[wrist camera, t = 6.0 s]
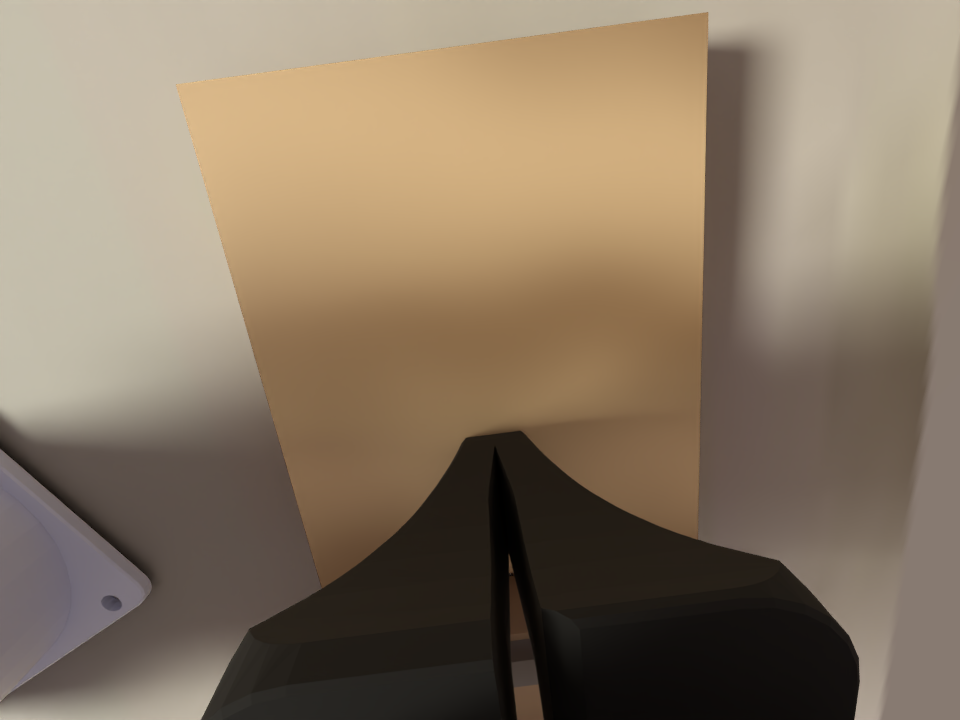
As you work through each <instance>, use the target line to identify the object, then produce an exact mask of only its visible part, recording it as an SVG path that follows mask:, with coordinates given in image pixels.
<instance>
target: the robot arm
mask: <svg viewBox="0 0 960 720" xmlns="http://www.w3.org/2000/svg"><path fill="white" fill-rule="evenodd" d="M509 556H510V560H511V564H512V568H513V573H514V577H515V581H516V585H517V589H518V593H519V597H520V601H521V605H522V609H523V614H524V618H525V622H526V626H527V630H528V634H529V638H530V642H531V646H532V651H533V656H534V661H535V666H536V672H537V679H538V685H539V692H540V699H541V705H542V712H543V718H544V720H854V718H855V711H856V704H857V697H858V690H859V683H860V679H859V657H858V655H857V653H856V651H855V648H854V646H853V644H852V641H851V639H850V637H849V635H848V634H847V633H846V632H845V631H844V629H843V628H842V627H841V626H840V625H839V624H838V623H837V622H836V620H835V619H834V618H833V617H832V616H831V615H830V614H829V612H828V611H827V610H826V609H825V608H824V606H823V605H822V604H821V603H820V602H819V601H818V600H817V598H816V597H815V596H814V595H813V594H812V593H811V592H810V591H809V590H808V588H807V587H806V586H805V585H803V584H802V583H801V582H800V581H799V580H798V579H797V578H796V577H795V576H794V575H793V574H792V573H791V572H790V571H789V570H788V569H787V568H786V567H785V566H784V565H783V564H782V563H781V562H780V561H778V560H774V559H770V558H766V557H762V556H757V555H753V554H749V553H745V552H741V551H737V550H733V549H728V548H724V547H720V546H716V545H713V544H709V543H706V542H703V541H700V540H697V539H694V538H691V537H688V536H685V535H682V534H679V533H676V532H673V531H671V530H668V529H665V528H663V527H660V526H658V525H655V524H653V523H651V522H648V521H646V520H644V519H642V518H639V517H637V516H635V515H633V514H630V513H628V512H626V511H624V510H622V509H620V508H618V507H616V506H615V505H613V504H611V503H609V502H608V501H606V500H604V499H602V498H601V497H599V496H597V495H596V494H594V493H592V492H591V491H589V490H588V489H586V488H585V487H583V486H582V485H580V484H579V483H578V482H576V481H575V480H573V479H572V478H571V477H570V476H568V475H567V474H566V473H565V472H563V471H562V470H561V469H560V468H559V467H558V466H557V465H555V464H554V463H553V462H552V461H551V460H550V459H549V458H548V457H547V456H545V455H544V454H543V453H542V452H541V451H540V450H539V449H538V448H537V447H536V446H535V444H534V443H533V442H532V441H531V440H530V439H529V438H528V437H527V435H526V434H524V433H523V432H522V431H514V432H507V433H499V434H491V435H483V436H476V437H468V438H465V440H464V441H463V442H462V443H461V445H460V448H459V450H458V451H457V453H456V455H455V457H454V459H453V460H452V462H451V464H450V466H449V467H448V469H447V470H446V472H445V473H444V475H443V476H442V478H441V479H440V481H439V482H438V484H437V485H436V487H435V488H434V489H433V491H432V492H431V493H430V495H429V496H428V497H427V499H426V500H425V501H424V502H423V504H422V505H421V506H420V508H419V509H418V510H417V511H416V512H415V513H414V515H413V516H412V517H411V518H410V519H409V520H408V521H407V522H406V523H405V524H404V525H403V526H402V527H401V528H400V529H399V530H398V531H397V532H396V533H395V534H394V535H393V536H392V537H390V538H389V539H388V540H387V541H386V542H384V543H383V544H382V545H381V546H380V547H378V548H377V549H376V550H375V551H374V552H372V553H371V554H370V555H369V556H368V557H366V558H365V559H364V560H363V561H361V562H360V563H359V564H357V565H356V566H355V567H353V568H352V569H350V570H349V571H348V572H346V573H345V574H343V575H342V576H341V577H339V578H337V579H336V580H334V581H333V582H331V583H330V584H328V585H327V586H325V587H324V588H322V589H321V590H319V591H317V592H316V593H314V594H312V595H311V596H309V597H307V598H306V599H304V600H302V601H300V602H299V603H297V604H295V605H293V606H291V607H289V608H288V609H286V610H284V611H282V612H280V613H278V614H277V615H275V616H273V617H271V618H269V619H267V620H266V621H264V622H262V623H260V624H258V625H256V626H254V627H252V628H250V629H249V631H248V632H247V634H246V636H245V637H244V639H243V641H242V643H241V644H240V646H239V648H238V649H237V651H236V653H235V654H234V656H233V658H232V659H231V661H230V663H229V665H228V667H227V669H226V671H225V673H224V675H223V677H222V679H221V681H220V683H219V685H218V687H217V689H216V691H215V693H214V695H213V697H212V699H211V701H210V703H209V705H208V707H207V709H206V711H205V713H204V715H203V717H202V719H201V720H517V712H516V703H515V694H514V685H513V676H512V663H511V641H510V586H509ZM151 589H152V585H151V581H150V580H149V578H148V577H147V576H146V575H145V574H144V573H143V572H142V571H140V570H139V569H138V568H137V567H136V566H135V565H134V564H132V563H131V562H130V561H129V560H128V559H127V558H125V557H124V556H123V555H122V554H121V553H120V552H119V551H117V550H116V549H115V548H114V547H113V546H112V545H110V544H109V543H108V542H107V541H106V540H105V539H104V538H102V537H101V536H100V535H99V534H98V533H97V532H95V531H94V530H93V529H92V528H91V527H90V526H89V525H87V524H86V523H85V522H84V521H83V520H82V519H81V518H79V517H78V516H77V515H76V514H75V513H74V512H72V511H71V510H70V509H69V508H68V507H67V506H66V505H64V504H63V503H62V502H61V501H60V500H59V499H57V498H56V497H55V496H54V495H53V494H52V493H51V492H49V491H48V490H47V489H46V488H45V487H44V486H43V485H41V484H40V483H39V482H38V481H37V480H36V479H34V478H33V477H32V476H31V475H30V474H29V473H28V472H26V471H25V470H24V469H23V468H22V467H21V466H19V465H18V464H17V463H16V462H15V461H14V460H13V459H11V458H10V457H9V456H8V455H7V454H6V453H5V452H3V451H2V450H1V449H0V702H1V701H2V700H3V699H4V698H5V697H6V696H7V695H8V694H9V693H11V692H12V691H14V690H15V689H17V688H18V687H20V686H21V685H23V684H24V683H26V682H27V681H28V680H30V679H31V678H33V677H34V676H36V675H37V674H39V673H40V672H42V671H43V670H45V669H46V668H48V667H49V666H51V665H52V664H54V663H55V662H57V661H58V660H59V659H61V658H62V657H64V656H65V655H67V654H68V653H70V652H71V651H73V650H74V649H76V648H77V647H79V646H80V645H82V644H83V643H85V642H86V641H87V640H89V639H90V638H92V637H93V636H95V635H96V634H98V633H99V632H101V631H102V630H104V629H105V628H107V627H108V626H110V625H111V624H113V623H114V622H115V621H117V620H118V619H120V618H121V617H123V616H124V615H126V614H127V613H129V612H130V611H132V610H133V609H135V608H136V607H138V606H139V605H140V604H141V603H142V602H143V601H144V600H145V599H146V597H147V596H148V595H149V594H150V592H151ZM114 596H115V597H117V598H119V599H117V598H115V597H114Z"/></svg>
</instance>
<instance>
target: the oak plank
mask: <svg viewBox="0 0 960 720" xmlns="http://www.w3.org/2000/svg"><path fill="white" fill-rule="evenodd" d="M707 51H708V12H707V13H699V14H692V15H685V16H677V17H670V18H662V19H655V20H648V21H640V22H633V23H626V24H618V25H611V26H603V27H596V28H589V29H581V30H574V31H567V32H559V33H552V34H544V35H537V36H530V37H522V38H515V39H508V40H500V41H493V42H485V43H478V44H471V45H463V46H456V47H449V48H441V49H434V50H427V51H419V52H412V53H404V54H397V55H390V56H382V57H375V58H368V59H360V60H353V61H345V62H338V63H331V64H323V65H316V66H309V67H301V68H294V69H286V70H279V71H272V72H264V73H257V74H250V75H242V76H235V77H227V78H220V79H213V80H205V81H198V82H191V83H183V84H176V86H177V90H178V93H179V97H180V100H181V104H182V107H183V111H184V114H185V117H186V121H187V124H188V128H189V131H190V135H191V138H192V142H193V145H194V149H195V152H196V155H197V159H198V162H199V166H200V169H201V173H202V176H203V180H204V183H205V187H206V190H207V193H208V197H209V200H210V204H211V207H212V211H213V214H214V218H215V221H216V225H217V228H218V231H219V235H220V238H221V242H222V245H223V249H224V252H225V256H226V259H227V263H228V266H229V269H230V273H231V276H232V280H233V283H234V287H235V290H236V294H237V297H238V301H239V304H240V307H241V311H242V314H243V318H244V321H245V325H246V328H247V332H248V335H249V339H250V342H251V345H252V349H253V352H254V356H255V359H256V363H257V366H258V370H259V373H260V377H261V380H262V383H263V387H264V390H265V394H266V397H267V401H268V404H269V408H270V411H271V415H272V418H273V422H274V425H275V428H276V432H277V435H278V439H279V442H280V446H281V449H282V453H283V456H284V460H285V463H286V466H287V470H288V473H289V477H290V480H291V484H292V487H293V491H294V494H295V498H296V501H297V504H298V508H299V511H300V515H301V518H302V522H303V525H304V529H305V532H306V536H307V539H308V542H309V546H310V549H311V553H312V556H313V560H314V563H315V567H316V570H317V574H318V577H319V580H320V584H321V587H322V588H324V587H325V586H327V585H328V584H330V583H331V582H333V581H334V580H336V579H337V578H339V577H341V576H342V575H343V574H345V573H346V572H348V571H349V570H350V569H352V568H353V567H355V566H356V565H357V564H359V563H360V562H361V561H363V560H364V559H365V558H366V557H368V556H369V555H370V554H371V553H372V552H374V551H375V550H376V549H377V548H378V547H380V546H381V545H382V544H383V543H384V542H386V541H387V540H388V539H389V538H390V537H392V536H393V535H394V534H395V533H396V532H397V531H398V530H399V529H400V528H401V527H402V526H403V525H404V524H405V523H406V522H407V521H408V520H409V519H410V518H411V517H412V516H413V515H414V513H415V512H416V511H417V510H418V509H419V508H420V506H421V505H422V504H423V502H424V501H425V500H426V499H427V497H428V496H429V495H430V493H431V492H432V491H433V489H434V488H435V487H436V485H437V484H438V482H439V481H440V479H441V478H442V476H443V475H444V473H445V472H446V470H447V469H448V467H449V466H450V464H451V462H452V460H453V459H454V457H455V455H456V453H457V451H458V450H459V448H460V445H461V443H462V442H463V441H464V440H465V438H468V437H476V436H483V435H491V434H499V433H507V432H514V431H522V432H523V433H524V434H526V435H527V437H528V438H529V439H530V440H531V441H532V442H533V443H534V444H535V446H536V447H537V448H538V449H539V450H540V451H541V452H542V453H543V454H544V455H545V456H547V457H548V458H549V459H550V460H551V461H552V462H553V463H554V464H555V465H557V466H558V467H559V468H560V469H561V470H562V471H563V472H565V473H566V474H567V475H568V476H570V477H571V478H572V479H573V480H575V481H576V482H578V483H579V484H580V485H582V486H583V487H585V488H586V489H588V490H589V491H591V492H592V493H594V494H596V495H597V496H599V497H601V498H602V499H604V500H606V501H608V502H609V503H611V504H613V505H615V506H616V507H618V508H620V509H622V510H624V511H626V512H628V513H630V514H633V515H635V516H637V517H639V518H642V519H644V520H646V521H648V522H651V523H653V524H655V525H658V526H660V527H663V528H665V529H668V530H671V531H673V532H676V533H679V534H682V535H685V536H688V537H691V538H694V539H697V540H698V504H699V454H700V403H701V353H702V303H703V252H704V202H705V152H706V101H707ZM509 573H513V568H512V564H511V560H510V556H509Z"/></svg>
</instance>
